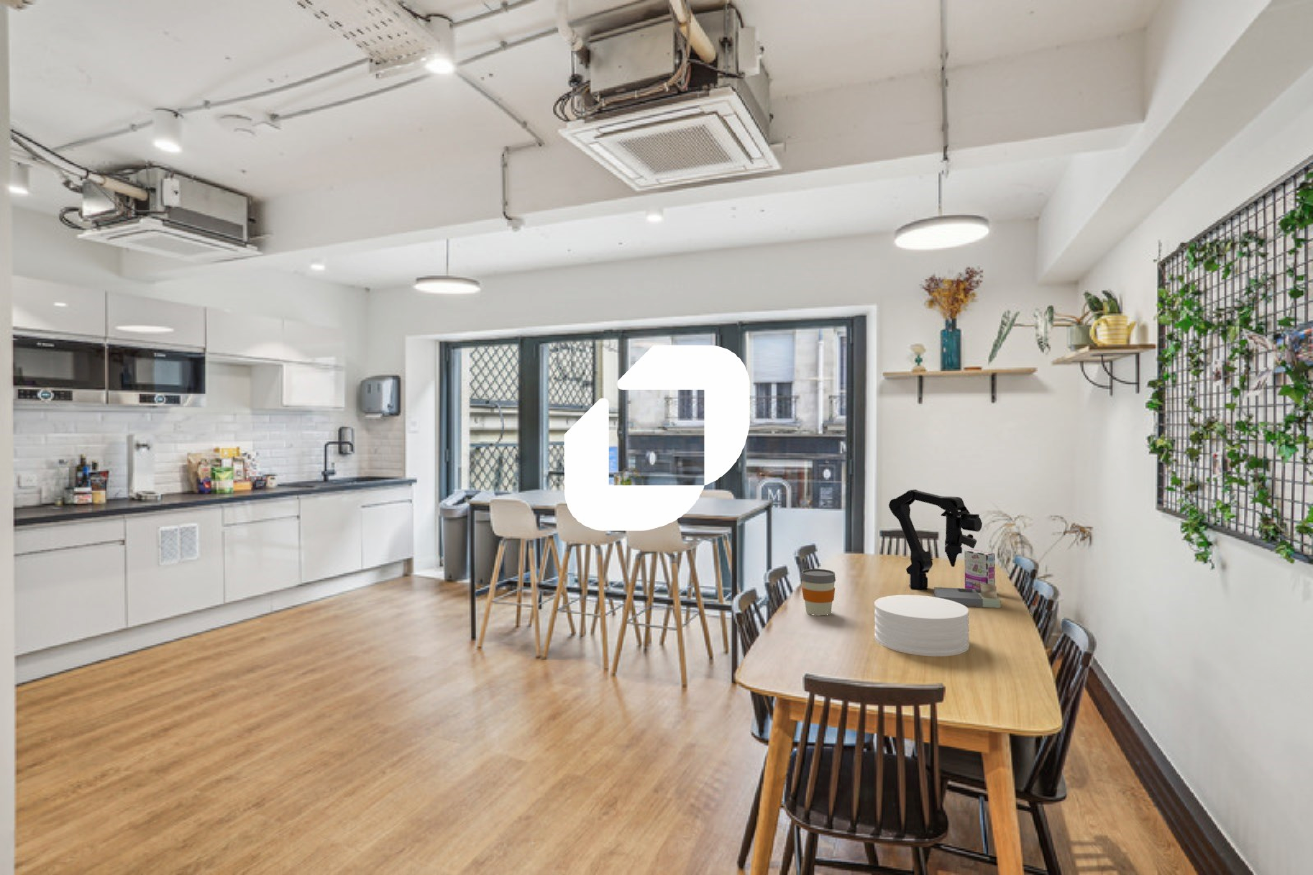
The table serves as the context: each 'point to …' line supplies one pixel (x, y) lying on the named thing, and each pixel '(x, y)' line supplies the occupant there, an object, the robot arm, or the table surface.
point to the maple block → (988, 591)
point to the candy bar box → (979, 568)
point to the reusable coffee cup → (818, 590)
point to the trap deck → (966, 597)
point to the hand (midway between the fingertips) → (952, 566)
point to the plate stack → (922, 625)
